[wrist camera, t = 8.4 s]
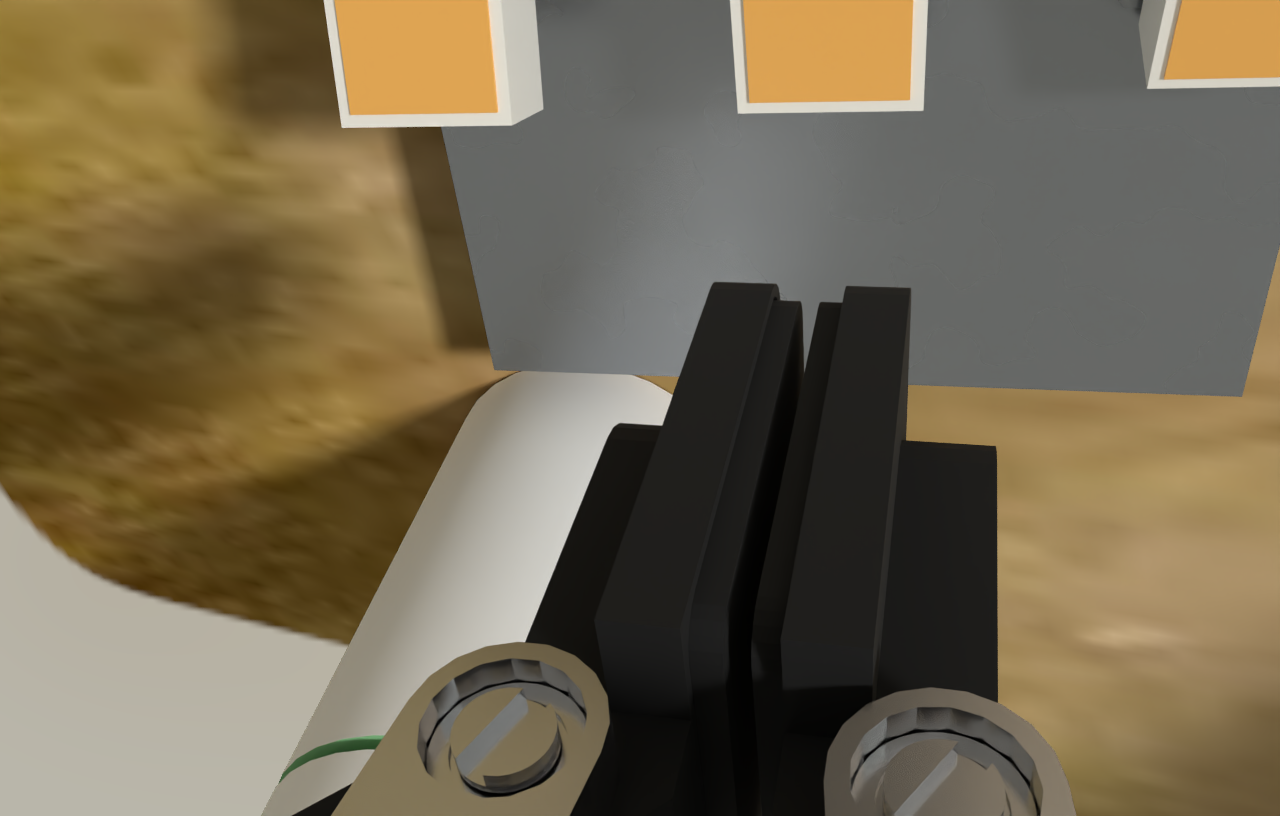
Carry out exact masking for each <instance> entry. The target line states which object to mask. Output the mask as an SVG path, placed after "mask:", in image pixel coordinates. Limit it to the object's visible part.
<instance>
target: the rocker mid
mask: <svg viewBox="0 0 1280 816" xmlns="http://www.w3.org/2000/svg"><path fill="white" fill-rule="evenodd" d="M730 8H731V23H732V37H733V51H734V66H735V80H736V94H737V109H738V114H746V113H813V112H880V111H923V109H924V87H925V64H926V40H927V16H928V0H730Z"/></svg>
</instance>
